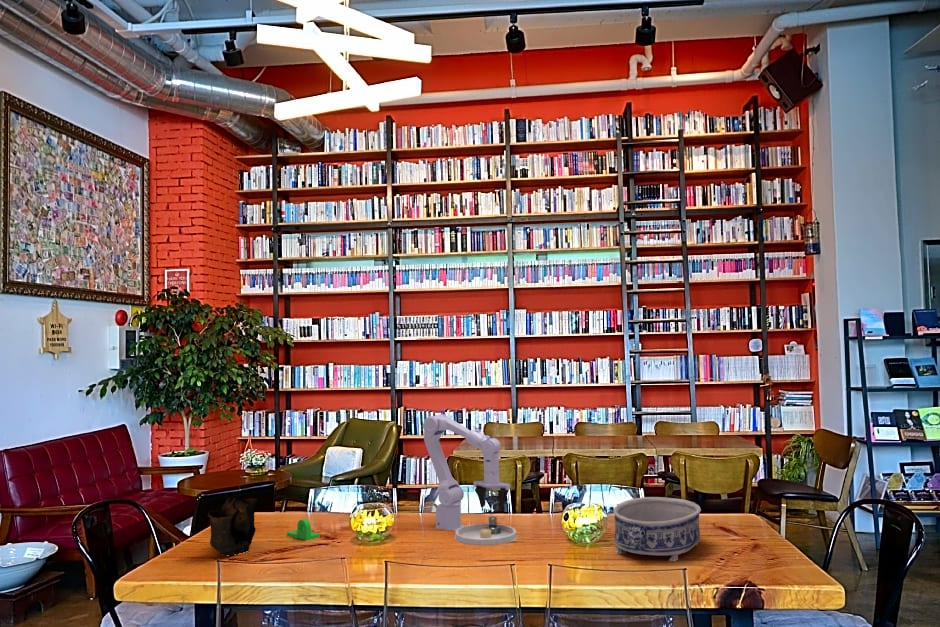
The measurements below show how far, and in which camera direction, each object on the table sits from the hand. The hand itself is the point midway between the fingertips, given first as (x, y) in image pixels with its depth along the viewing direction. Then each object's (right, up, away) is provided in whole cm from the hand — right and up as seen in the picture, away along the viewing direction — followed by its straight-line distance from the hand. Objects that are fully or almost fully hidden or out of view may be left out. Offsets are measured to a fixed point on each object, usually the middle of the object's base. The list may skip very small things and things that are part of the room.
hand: (492, 507), depth 273 cm
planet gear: (0, -9, -3) cm, 9 cm away
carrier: (-3, -9, -8) cm, 13 cm away
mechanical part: (-71, -11, -2) cm, 72 cm away
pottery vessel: (-90, -11, -21) cm, 93 cm away
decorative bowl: (+56, -8, -28) cm, 63 cm away
